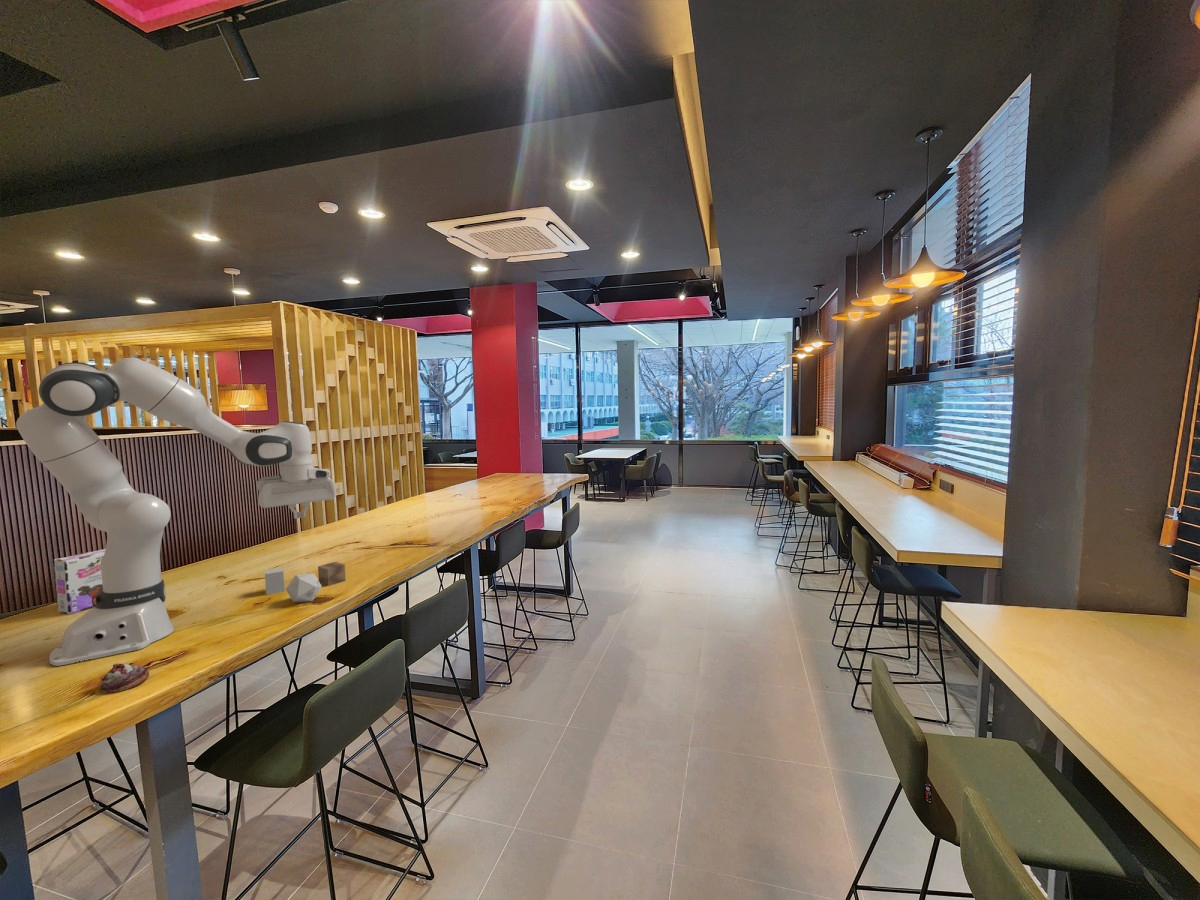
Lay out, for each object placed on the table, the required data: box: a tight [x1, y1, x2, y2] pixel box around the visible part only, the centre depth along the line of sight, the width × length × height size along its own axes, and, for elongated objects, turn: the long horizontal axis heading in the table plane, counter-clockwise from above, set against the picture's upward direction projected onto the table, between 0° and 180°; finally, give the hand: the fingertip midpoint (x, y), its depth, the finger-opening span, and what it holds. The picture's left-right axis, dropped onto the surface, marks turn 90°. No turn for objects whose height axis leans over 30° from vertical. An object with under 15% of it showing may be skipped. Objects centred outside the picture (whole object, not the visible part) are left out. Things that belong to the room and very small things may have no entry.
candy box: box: [53, 548, 106, 615], centre depth 148 cm, size 14×6×16 cm, turn 161°
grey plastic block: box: [264, 566, 286, 596], centre depth 159 cm, size 5×5×7 cm
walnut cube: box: [317, 561, 347, 587], centre depth 167 cm, size 6×6×6 cm
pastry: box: [99, 663, 150, 695], centre depth 105 cm, size 8×8×5 cm
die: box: [285, 572, 322, 604], centre depth 151 cm, size 8×9×10 cm
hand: (300, 517), depth 149 cm, fingers closed
